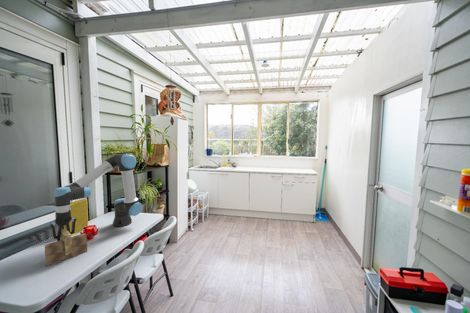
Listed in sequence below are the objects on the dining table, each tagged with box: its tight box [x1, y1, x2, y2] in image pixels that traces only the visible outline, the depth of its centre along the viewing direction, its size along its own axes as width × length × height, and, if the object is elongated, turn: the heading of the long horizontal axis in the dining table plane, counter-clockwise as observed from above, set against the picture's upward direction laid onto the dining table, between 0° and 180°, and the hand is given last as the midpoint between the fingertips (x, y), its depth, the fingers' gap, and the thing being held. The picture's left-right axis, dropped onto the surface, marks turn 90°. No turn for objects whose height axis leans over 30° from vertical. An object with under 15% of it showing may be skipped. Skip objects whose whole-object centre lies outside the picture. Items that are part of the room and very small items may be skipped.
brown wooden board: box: [44, 232, 88, 266], centre depth 124 cm, size 20×3×12 cm, turn 142°
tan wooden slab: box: [60, 228, 72, 255], centre depth 125 cm, size 3×14×12 cm, turn 53°
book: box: [63, 198, 89, 237], centre depth 161 cm, size 17×7×25 cm, turn 168°
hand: (64, 246), depth 128 cm, fingers closed on tan wooden slab, 3 cm apart
